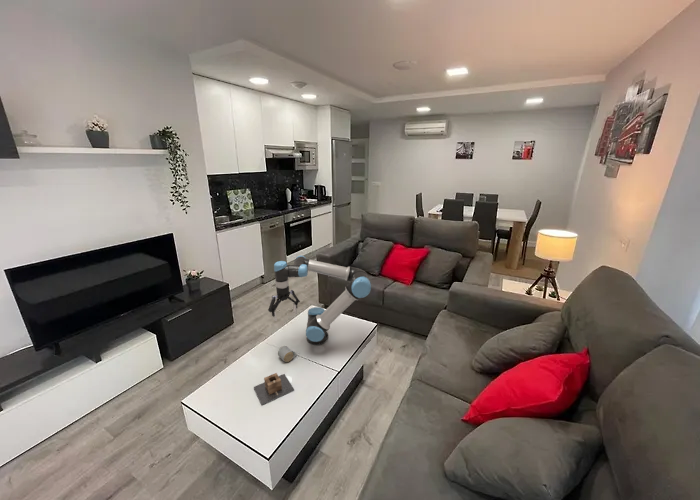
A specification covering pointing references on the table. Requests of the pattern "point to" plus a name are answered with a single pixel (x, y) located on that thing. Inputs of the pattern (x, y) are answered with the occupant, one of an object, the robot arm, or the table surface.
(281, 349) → the ceramic mug
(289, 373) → the table surface
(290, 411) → the table surface
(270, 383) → the brown cardboard box
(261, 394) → the metal panel
